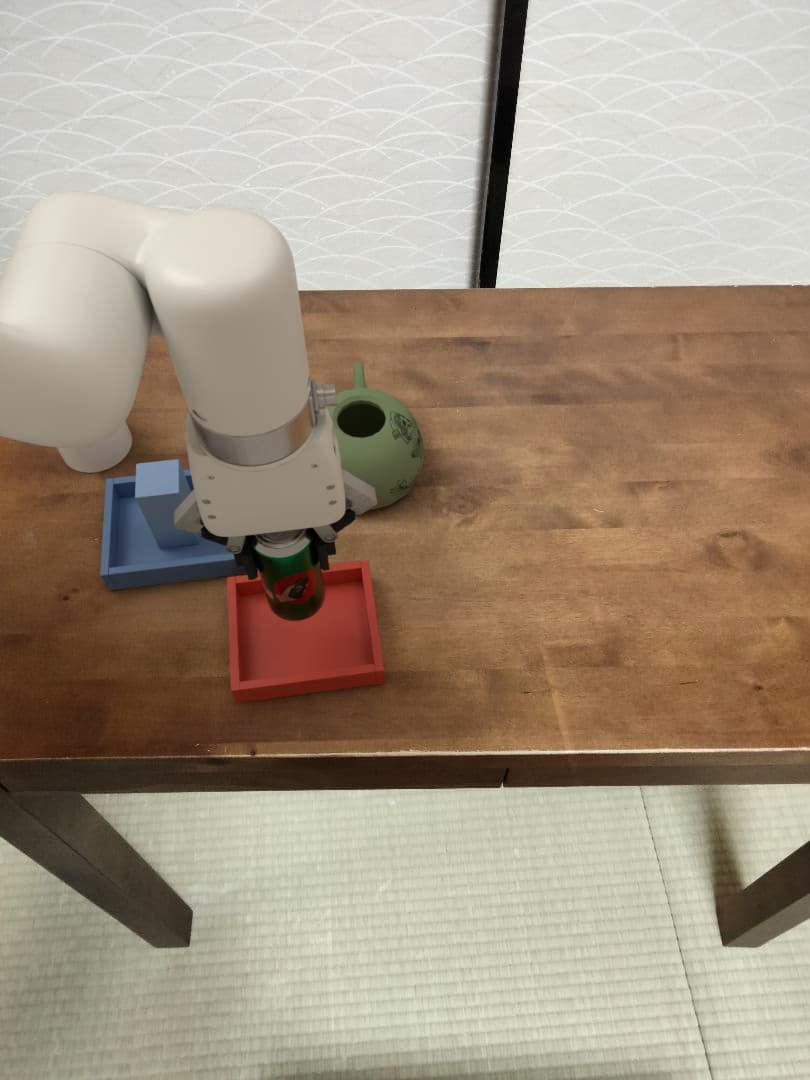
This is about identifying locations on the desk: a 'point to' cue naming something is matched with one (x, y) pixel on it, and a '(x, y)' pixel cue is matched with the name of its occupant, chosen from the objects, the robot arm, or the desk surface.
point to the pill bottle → (99, 452)
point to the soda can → (290, 572)
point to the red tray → (304, 639)
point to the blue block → (163, 500)
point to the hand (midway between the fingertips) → (288, 558)
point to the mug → (377, 439)
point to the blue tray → (151, 546)
